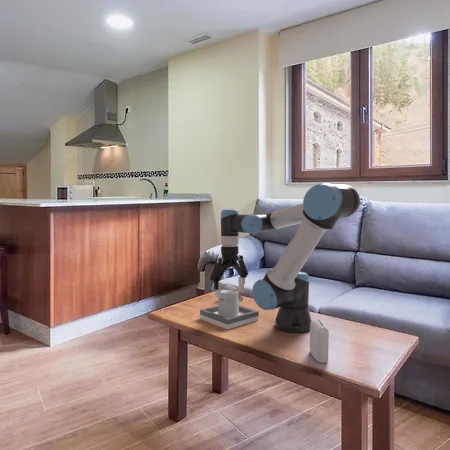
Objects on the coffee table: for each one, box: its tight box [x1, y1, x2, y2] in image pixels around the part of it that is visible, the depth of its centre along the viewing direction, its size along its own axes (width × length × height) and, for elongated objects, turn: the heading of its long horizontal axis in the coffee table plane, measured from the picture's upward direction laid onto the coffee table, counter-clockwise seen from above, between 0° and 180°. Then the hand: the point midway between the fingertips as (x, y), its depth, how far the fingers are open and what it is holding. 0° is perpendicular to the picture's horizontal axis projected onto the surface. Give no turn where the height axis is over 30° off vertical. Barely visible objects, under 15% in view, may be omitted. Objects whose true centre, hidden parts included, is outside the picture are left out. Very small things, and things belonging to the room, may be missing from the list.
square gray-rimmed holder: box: [199, 304, 260, 330], centre depth 166 cm, size 18×18×4 cm
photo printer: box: [309, 318, 330, 364], centre depth 128 cm, size 10×4×12 cm, turn 3°
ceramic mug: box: [221, 284, 244, 301], centre depth 197 cm, size 11×8×8 cm
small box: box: [217, 289, 240, 317], centre depth 165 cm, size 8×6×10 cm
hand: (229, 294), depth 165 cm, fingers open, 13 cm apart
